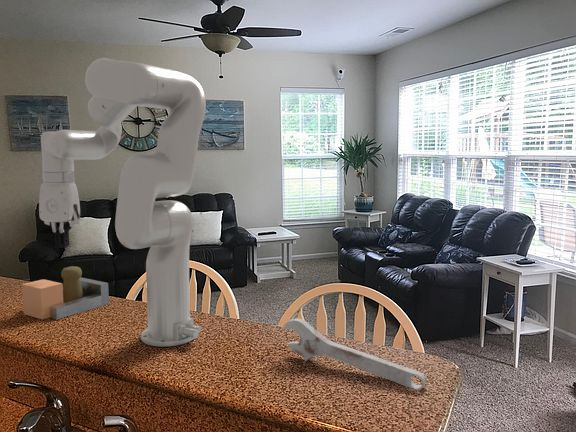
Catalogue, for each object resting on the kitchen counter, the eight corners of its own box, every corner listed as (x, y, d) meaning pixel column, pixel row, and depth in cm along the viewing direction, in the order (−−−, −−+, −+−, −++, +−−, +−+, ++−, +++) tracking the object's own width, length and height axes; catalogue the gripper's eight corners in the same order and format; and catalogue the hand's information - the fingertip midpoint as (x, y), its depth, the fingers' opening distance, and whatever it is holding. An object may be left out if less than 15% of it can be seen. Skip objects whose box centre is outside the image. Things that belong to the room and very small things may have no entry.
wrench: (419, 406, 86) (280, 352, 101) (422, 401, 88) (284, 349, 102) (427, 365, 85) (284, 316, 99) (429, 361, 86) (288, 314, 101)
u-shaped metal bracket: (108, 303, 135) (108, 282, 134) (56, 320, 121) (55, 297, 120) (77, 296, 142) (76, 276, 141) (24, 310, 128) (23, 289, 127)
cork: (65, 310, 128) (63, 270, 127) (58, 305, 133) (55, 267, 131) (88, 306, 132) (86, 267, 131) (80, 301, 137) (78, 263, 135)
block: (63, 313, 126) (62, 283, 125) (42, 319, 121) (40, 288, 120) (45, 307, 130) (43, 279, 129) (23, 313, 125) (21, 284, 124)
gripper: (25, 178, 125) (29, 247, 128) (70, 180, 120) (74, 251, 123) (48, 177, 132) (52, 242, 135) (91, 178, 127) (94, 246, 130)
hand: (62, 246), depth 129 cm, fingers closed
